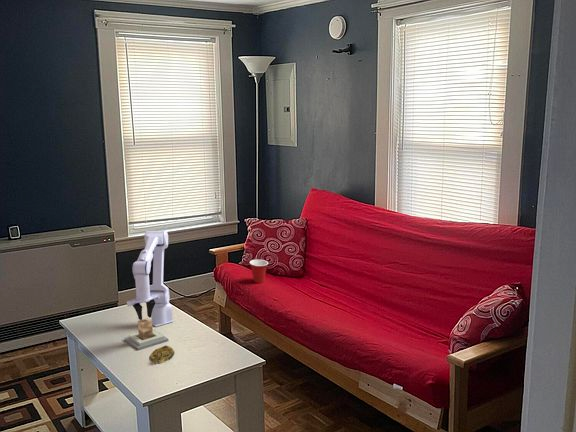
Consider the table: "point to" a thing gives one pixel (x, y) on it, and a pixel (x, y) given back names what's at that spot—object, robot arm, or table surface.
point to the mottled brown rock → (162, 354)
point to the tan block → (145, 329)
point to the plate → (142, 344)
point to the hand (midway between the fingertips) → (144, 318)
